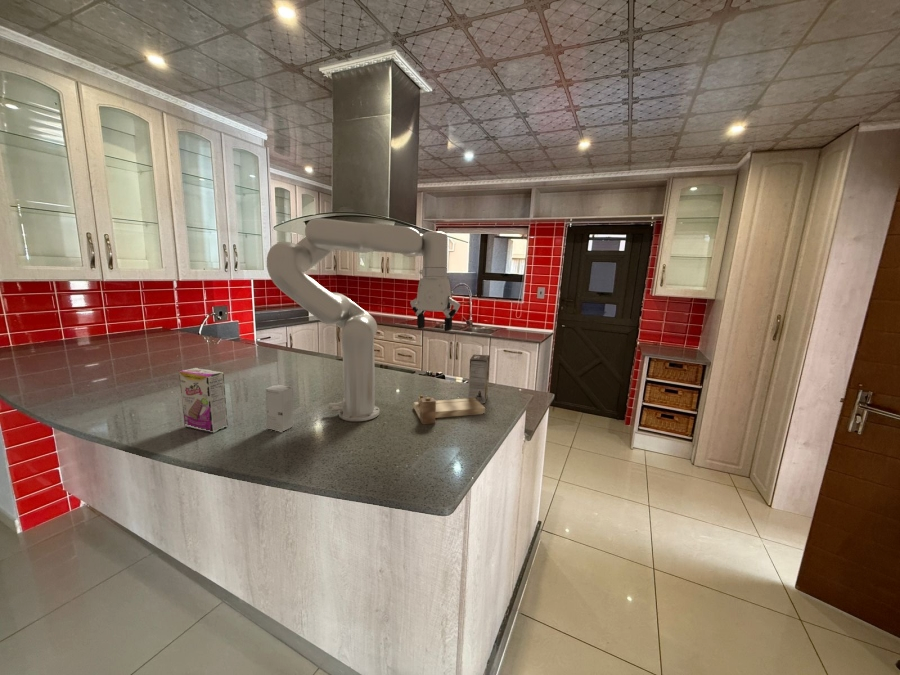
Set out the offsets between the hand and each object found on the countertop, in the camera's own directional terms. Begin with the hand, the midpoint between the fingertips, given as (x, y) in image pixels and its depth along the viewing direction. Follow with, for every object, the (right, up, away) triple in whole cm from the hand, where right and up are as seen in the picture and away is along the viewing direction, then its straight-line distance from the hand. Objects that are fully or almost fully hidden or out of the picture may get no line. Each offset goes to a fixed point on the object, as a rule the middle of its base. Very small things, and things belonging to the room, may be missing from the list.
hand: (434, 329), depth 108 cm
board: (+5, -27, +8) cm, 29 cm away
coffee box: (+15, -26, +20) cm, 36 cm away
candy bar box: (-64, -28, -11) cm, 71 cm away
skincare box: (-43, -29, -10) cm, 53 cm away
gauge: (-3, -28, +2) cm, 28 cm away
